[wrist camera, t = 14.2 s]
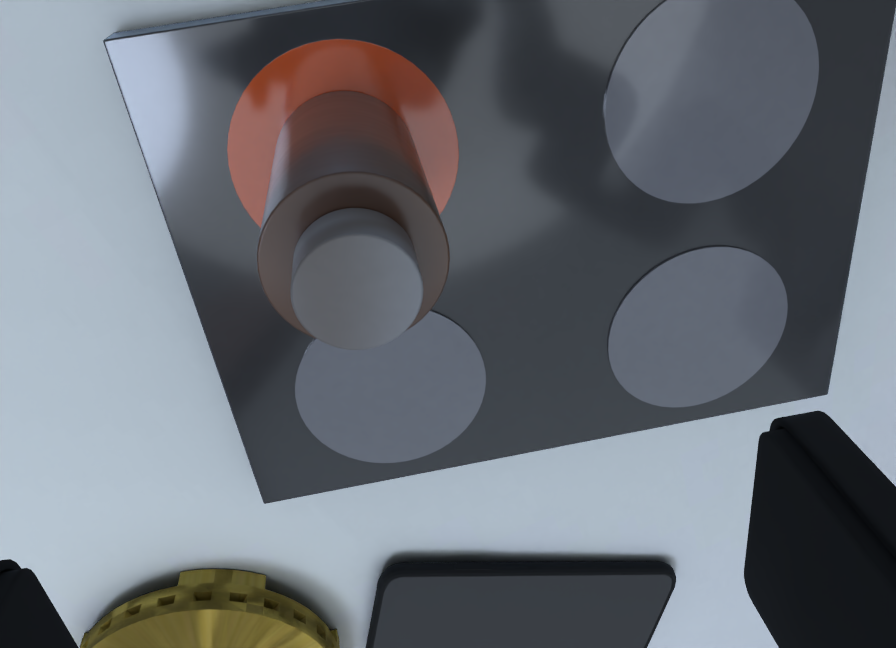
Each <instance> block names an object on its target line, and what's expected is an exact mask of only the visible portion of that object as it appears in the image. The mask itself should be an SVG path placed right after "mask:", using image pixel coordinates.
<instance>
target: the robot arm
mask: <svg viewBox="0 0 896 648" xmlns="http://www.w3.org/2000/svg"><path fill="white" fill-rule="evenodd" d="M744 579H745V584H746V588H747V591H748V594H749V596H750V598H751V600H752V602H753V604H754V606H755V607H756V609H757V611H758V613H759V614H760V616H761V618H762V619H763V621H764V623H765V624H766V626H767V628H768V630H769V631H770V633H771V635H772V636H773V638H774V640H775V642H776V643H777V645H778V647H779V648H896V487H895V486H894V484H893V483H892V482H891V481H890V480H889V479H888V478H887V477H886V476H885V475H884V474H883V473H882V472H881V471H880V470H879V469H878V468H877V466H876V465H875V464H874V463H873V462H872V461H871V460H870V459H869V458H868V457H867V456H866V455H865V454H864V453H863V452H862V451H861V449H860V448H859V447H858V446H857V445H856V444H855V443H854V442H853V441H852V440H851V439H850V438H849V437H848V436H847V435H846V434H845V432H844V431H843V430H842V429H841V428H840V427H839V426H838V425H837V424H836V423H835V422H834V421H833V420H832V419H831V418H830V417H829V416H828V415H827V414H825V413H824V412H821V411H814V412H809V413H803V414H798V415H792V416H787V417H781V418H777V419H774V421H773V422H772V423H771V427H770V431H768V432H764V433H762V434H761V435H760V438H759V444H758V452H757V461H756V470H755V479H754V488H753V497H752V505H751V514H750V523H749V532H748V541H747V549H746V558H745V567H744ZM0 648H78V646H77V644H76V643H75V641H74V639H73V638H72V636H71V634H70V632H69V631H68V629H67V627H66V626H65V624H64V622H63V621H62V619H61V617H60V616H59V614H58V612H57V611H56V609H55V607H54V606H53V604H52V602H51V601H50V599H49V597H48V596H47V594H46V592H45V591H44V589H43V587H42V586H41V584H40V582H39V581H38V579H37V577H36V575H35V574H34V573H33V572H32V570H30V569H28V568H24V569H21V568H20V566H19V565H18V564H17V563H16V562H15V561H12V560H10V559H9V560H1V561H0Z"/></svg>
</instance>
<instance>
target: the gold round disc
mask: <svg viewBox="0 0 896 648" xmlns="http://www.w3.org/2000/svg"><path fill="white" fill-rule="evenodd" d="M265 584H266V575H261V574H257V573H253V572H247V571H239V570H229V569H201V570H191V571H183V572H180V577H179V582H178V586H174V587H170V588H165V589H160V590H157V591H154V592H151V593H148V594H144V595H142V596H140V597H137V598H135V599H133V600H130V601H128V602H126V603H124V604H123V605H121V606H119V607H117V608H116V609H114V610H113V611H111V612H110V613H108V614H107V615H106V616H104V617H103V618H102V619H101V620H100V621H99V622H98V623H97V624H96V625H95V626H94V627H93V628H92V629H91V630H90V632H89V633H84V636H83V639H82V642H81V646H80V648H340V647H339V637H338V633H337V629H335V630H331V631H330V629H329V628H328V627H327V625H326V624H325V623H324V622H323V621H322V620H321V619H320V618H319V617H318V616H317V615H316V614H315V613H313V612H312V611H311V610H309V609H308V608H307V607H305V606H303V605H302V604H300V603H298V602H296V601H295V600H293V599H290V598H288V597H286V596H284V595H281V594H278V593H275V592H272V591H269V590H266V589H265Z"/></svg>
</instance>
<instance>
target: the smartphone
mask: <svg viewBox="0 0 896 648" xmlns="http://www.w3.org/2000/svg"><path fill="white" fill-rule="evenodd" d="M675 583H676V576H675V572H674V570H673V568H672V567H671V566H670V565H668V564H666V563H663V562H454V563H398V564H395V565H391V566H390V567H388V568H387V569H386V570H385V571H384V572H383V573H382V575H381V576H380V578H379V581H378V584H377V590H376V595H375V601H374V606H373V612H372V618H371V623H370V628H369V634H368V639H367V644H366V648H647V646H648V644H649V642H650V640H651V638H652V636H653V633H654V631H655V629H656V627H657V625H658V622H659V620H660V618H661V616H662V614H663V612H664V609H665V607H666V605H667V603H668V601H669V598H670V596H671V594H672V592H673V590H674V588H675Z"/></svg>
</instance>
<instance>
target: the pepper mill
mask: <svg viewBox="0 0 896 648" xmlns="http://www.w3.org/2000/svg"><path fill="white" fill-rule="evenodd" d="M449 265H450V250H449V243H448V238H447V234H446V232H445V229H444V226H443V223H442V220H441V217H440V215H439V212H438V209H437V206H436V203H435V201H434V198H433V195H432V192H431V189H430V186H429V184H428V181H427V178H426V175H425V172H424V170H423V167H422V164H421V161H420V158H419V156H418V153H417V150H416V147H415V144H414V141H413V139H412V136H411V133H410V131H409V129H408V128H407V126H406V124H405V123H404V121H403V120H402V118H401V117H400V116H399V115H398V114H397V113H396V112H395V111H394V110H393V109H392V108H391V107H389V106H388V105H387V104H385V103H384V102H382V101H381V100H379V99H377V98H375V97H372V96H370V95H367V94H364V93H360V92H354V91H334V92H329V93H324V94H321V95H319V96H316V97H314V98H312V99H310V100H308V101H306V102H305V103H303V104H302V105H301V106H299V107H298V108H297V109H296V110H295V111H294V112H293V113H292V114H291V115H290V117H289V118H288V119H287V120H286V122H285V124H284V125H283V127H282V129H281V131H280V134H279V136H278V140H277V144H276V148H275V154H274V159H273V165H272V170H271V176H270V181H269V186H268V192H267V197H266V203H265V208H264V214H263V219H262V224H261V230H260V235H259V241H258V247H257V270H258V275H259V279H260V282H261V285H262V288H263V291H264V293H265V294H266V296H267V298H268V300H269V302H270V303H271V304H272V306H273V307H274V309H275V310H276V311H277V312H278V313H279V314H280V315H281V316H282V317H283V318H284V319H285V320H286V321H287V322H288V323H289V324H291V325H292V326H293V327H295V328H296V329H298V330H299V331H301V332H303V333H305V334H307V335H309V336H311V337H313V338H316V339H318V340H320V341H322V342H324V343H326V344H328V345H331V346H334V347H337V348H341V349H347V350H365V349H371V348H375V347H379V346H382V345H384V344H387V343H389V342H391V341H392V340H394V339H396V338H397V337H399V336H400V335H401V334H402V333H403V332H405V331H407V330H408V329H410V328H411V327H413V326H414V325H415V324H417V323H418V322H419V321H420V320H421V319H423V318H424V317H425V315H426V314H427V313H428V312H429V311H430V310H431V309H432V307H433V306H434V305H435V303H436V302H437V300H438V299H439V297H440V295H441V293H442V291H443V289H444V286H445V283H446V281H447V277H448V272H449Z"/></svg>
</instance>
